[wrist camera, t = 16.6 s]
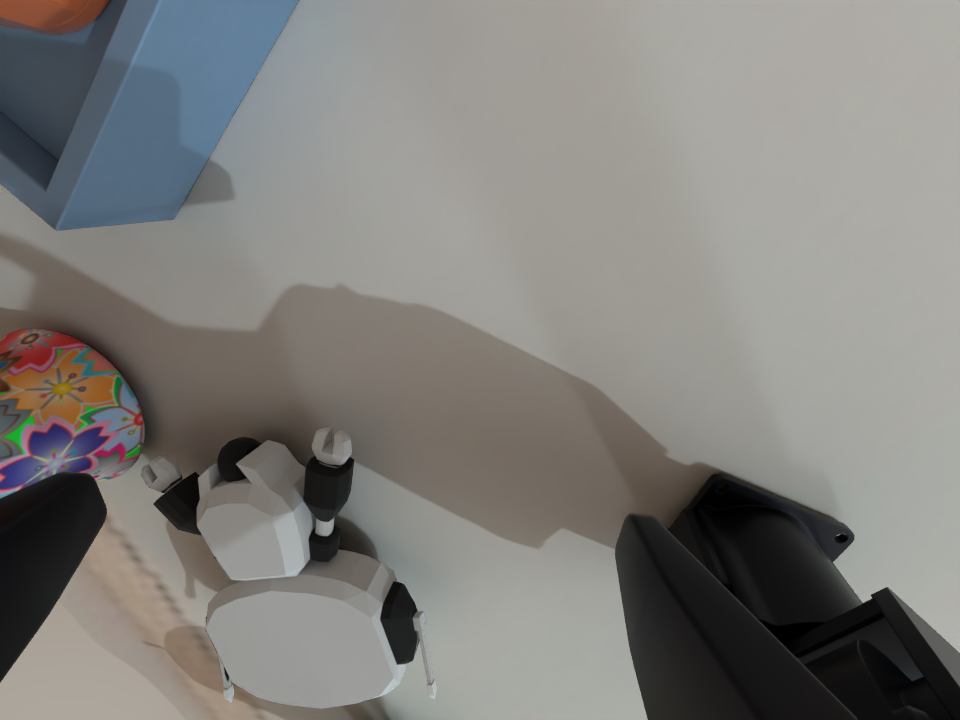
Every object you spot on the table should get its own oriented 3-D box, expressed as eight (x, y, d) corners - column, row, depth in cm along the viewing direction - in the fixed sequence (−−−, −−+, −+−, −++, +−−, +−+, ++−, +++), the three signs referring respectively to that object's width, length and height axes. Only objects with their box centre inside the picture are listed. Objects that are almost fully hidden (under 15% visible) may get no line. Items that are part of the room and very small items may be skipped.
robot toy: (175, 432, 25) (272, 647, 28) (94, 477, 20) (221, 723, 24) (378, 395, 22) (457, 638, 26) (333, 437, 18) (436, 722, 21)
